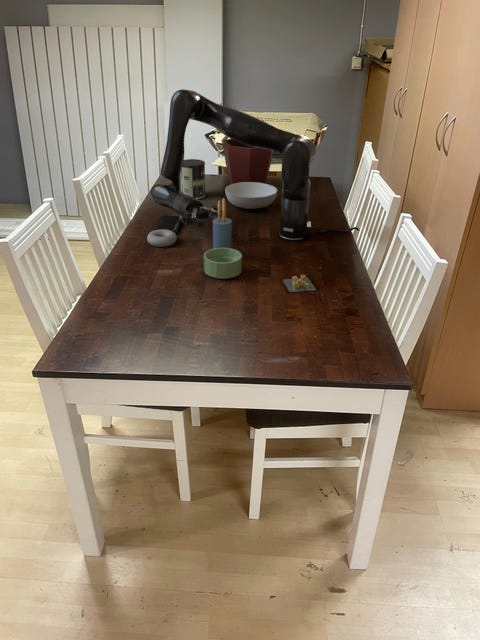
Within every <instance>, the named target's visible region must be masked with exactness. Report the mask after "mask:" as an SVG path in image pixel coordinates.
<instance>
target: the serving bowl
mask: <svg viewBox="0 0 480 640" xmlns="http://www.w3.org/2000/svg"><path fill="white" fill-rule="evenodd" d="M224 191H225V192H224V193H225V197H226V199H227V201H228V202H229V203H230V204H231V205H233V206H235V207H237V208H242V209H245V210H258V209H262V208H263V209H264V208H266V207H268V206H270V205H271V204H273V202H274V201H275V200H276V198H277V196H278V189H277V187H275V186H273V185H271V184H268V183H266V184H264V183H256V182H242V183H235V184H231V185H230V184H229V185H227V186H226V187H225V188H224Z"/></svg>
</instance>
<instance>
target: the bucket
mask: <svg viewBox="0 0 480 640" xmlns="http://www.w3.org/2000/svg"><path fill="white" fill-rule="evenodd" d="M221 144H222V150H223V155H224V162H225V166H226V173H227V178H228V183H229V185H231V184H235V183H242V182H256V183H264V184H267V182H268V177H269V173H270V169H271V164H272V162H273V161H272V160H273V156H274V152H275V151H273V150H270V149H264V148H257V147H252V146H248V145H245V144H242V143H240V142H237V141H235V140H233V139H231V138H229V137H227V136H225V135H224V137H222V139H221Z"/></svg>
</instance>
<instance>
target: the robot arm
mask: <svg viewBox="0 0 480 640" xmlns="http://www.w3.org/2000/svg"><path fill="white" fill-rule="evenodd" d="M168 117H169V118H168V129H167V135H166V137H167V138H166V144H165V149H164V154H163V158H162V162H161V167H160V171H159V172H160V175H161V177H162V178H164V179H166V180H168V182H169V183H168V184H165V183H155V184H153V185H152V186H151V188H150V192H149V194H150V199H151V200H152V201H153V203H155V204H156V205H158V206H162V207H165V208H168V209H170V210H172V211H174V212H175V214H177V215H178V216H179V220H180V221H182V222H181V223H183V224H184V225H186V226H189V225H193V226H194V225H195V226H196V227H198V228H203V227H204V223H203V220H211V221H213V220H214V219H216V218H218V205H213V204H212V205H211V207H207V206H205V205H204V204H203V203H202V201H201V200H200V199H195V198H193V197H191V196H189V195H187V194H184V193H182V192H181V169H182V165H183V161H184V160H185V137H186V136H185V135H186V130H187V127H188V124H189V121H191V120H192V121H196V122H199V123H202V124H206V125H209V126H210V127H212V128H215V130H217V131H218V132H220V133H221V134H223V135H224V137H225V136H227V137H229V138H228V139H233V140H235V141H237V142H240V143H242V144H245V145H248V146H252V147H257V148H264V149H270V150H273V151H274V152H276V153H278V154H281V155H282V156H281V173H280V175H281V177H280V178H281V182H282V189H281V190H282V191H281V192H282V193H281V205H280V222H279V235H278V236H279V238H280V239H283V240H285V241H291V242H292V241H293V242H295V241H302V240H305V241H306V240H307V234H308V235H311V234H312V233H311V232H312V230H314V231H318V233H320V234H323V233H324V234H325V233H326V232H328V231H332V232H337V233H342V234H343V233H344V234H347V233H350V232H352V231H354V230H356V231H358V232H359V231H360V228H359V227H357V226H354V227H351V228H349V229H346V230H342V229H337V228H333V227H332V228H331V227H329V228H326V229H324V230H322V229H320V228H319V227H315V226H312V221H308V220H309V204H310V195H311V179H310V177H309V176H310V175H309V174H310V165H311V162H313V160H314V159H315V157H316V155H317V147H316V145H315V143H314V141H313V140H311V138H310V137H307V136H305V135H301V134H298V133H294V132H290V131H287V130H284V129H281V128H279V127H277V126H274V125H273V124H271V123H269V122H266V121H265V120H262V119H259V118H257V117H256V116H253V115H250V114H248V113H246V112H244V111H240V110H238V109H235V108H233V107H228V106H225V105H221V104H219V103H216V102H214V101H212V100H211V99H209V98H208V97H206V96H204V95H202V94H200V93H199V92H196V91H194V90H192V89H191V90H190V89H182V88H181V89H178V90H176V91H175V92H174V93H173V94H172V96H171V99H170V104H169V115H168ZM221 218H222V208H221Z"/></svg>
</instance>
